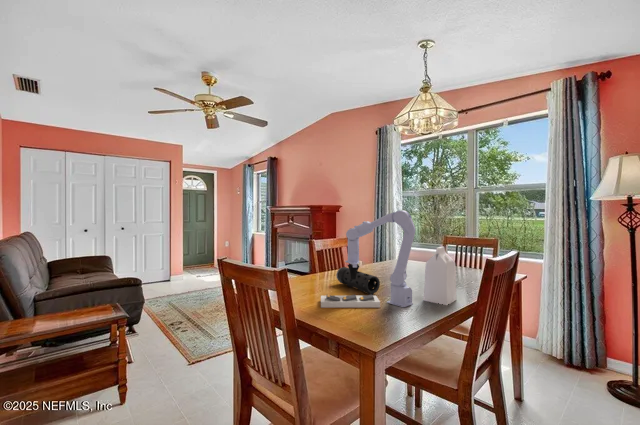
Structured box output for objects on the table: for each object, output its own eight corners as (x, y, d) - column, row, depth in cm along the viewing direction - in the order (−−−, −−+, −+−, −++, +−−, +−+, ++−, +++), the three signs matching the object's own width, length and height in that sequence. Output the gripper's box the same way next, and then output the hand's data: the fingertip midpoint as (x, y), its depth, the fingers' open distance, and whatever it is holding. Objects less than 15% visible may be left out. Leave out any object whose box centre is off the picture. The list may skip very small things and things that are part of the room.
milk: (433, 295, 160) (434, 245, 159) (456, 299, 152) (457, 247, 151) (423, 300, 151) (423, 247, 150) (446, 305, 143) (447, 249, 142)
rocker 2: (372, 296, 146) (371, 293, 146) (374, 298, 142) (373, 296, 142) (360, 299, 146) (359, 297, 146) (361, 302, 142) (360, 299, 142)
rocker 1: (338, 299, 146) (339, 297, 146) (339, 302, 142) (339, 299, 142) (326, 296, 146) (326, 293, 146) (326, 298, 142) (327, 296, 142)
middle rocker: (355, 296, 146) (355, 294, 146) (356, 299, 142) (356, 296, 142) (343, 299, 146) (342, 296, 146) (343, 302, 142) (343, 299, 142)
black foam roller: (366, 297, 157) (366, 276, 156) (335, 284, 180) (335, 267, 180) (380, 294, 162) (380, 274, 161) (348, 282, 185) (348, 265, 185)
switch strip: (376, 300, 150) (376, 295, 150) (380, 307, 140) (380, 301, 140) (320, 300, 150) (320, 295, 150) (320, 307, 140) (320, 301, 140)
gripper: (344, 250, 162) (344, 275, 162) (346, 254, 147) (346, 282, 148) (357, 250, 162) (357, 275, 162) (361, 254, 147) (361, 282, 148)
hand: (353, 279), depth 155 cm, fingers closed
